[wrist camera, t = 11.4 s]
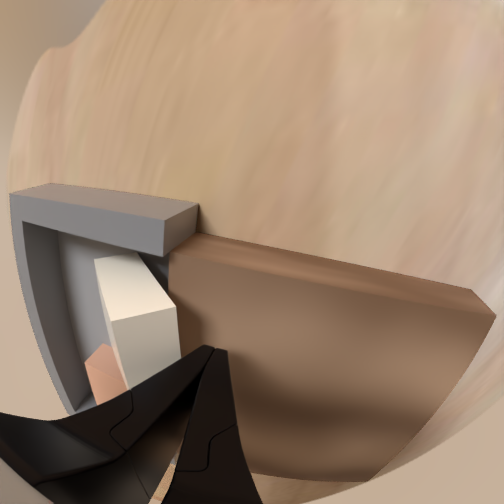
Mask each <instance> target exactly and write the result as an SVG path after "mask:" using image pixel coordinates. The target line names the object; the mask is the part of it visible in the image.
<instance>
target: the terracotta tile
mask: <svg viewBox="0 0 504 504" xmlns="http://www.w3.org/2000/svg"><path fill="white" fill-rule="evenodd" d="M84 363H85V366H86V370H87V374H88V377H89V381H90V384H91V388H92V391H93V394H94V397H95V400H96V403H97V405H99V404H102V403H104V402H106V401H108V400H110V399H112V398H114V397H116V396H118V395H120V394H122V393H124V392H125V391H127V388H126V385H125V383H124V380H123V377H122V375H121V372H120V369H119V367H118V364H117V361H116V358H115V355H114V352H113V349H112V347H110V346H108V345H106V344H104V343H102V345H101V346H100V347H99V348H98V349H97V350H96V351H95V352H94V353H93V354H92V355H91V356H90V357H89V358H88V359H87V360H86V361H85V362H84Z"/></svg>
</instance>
